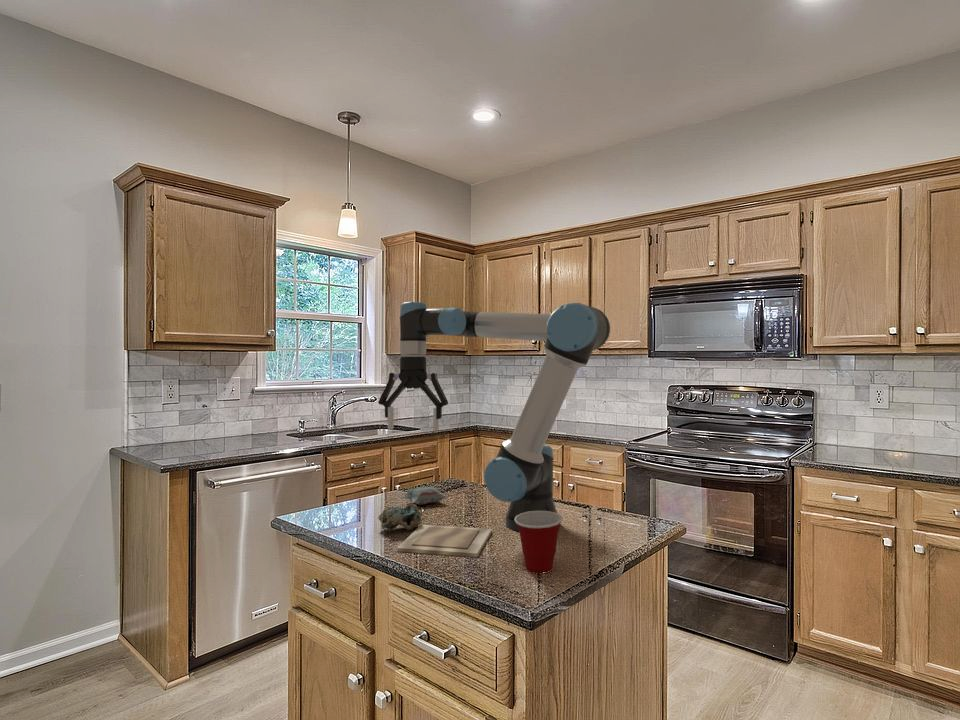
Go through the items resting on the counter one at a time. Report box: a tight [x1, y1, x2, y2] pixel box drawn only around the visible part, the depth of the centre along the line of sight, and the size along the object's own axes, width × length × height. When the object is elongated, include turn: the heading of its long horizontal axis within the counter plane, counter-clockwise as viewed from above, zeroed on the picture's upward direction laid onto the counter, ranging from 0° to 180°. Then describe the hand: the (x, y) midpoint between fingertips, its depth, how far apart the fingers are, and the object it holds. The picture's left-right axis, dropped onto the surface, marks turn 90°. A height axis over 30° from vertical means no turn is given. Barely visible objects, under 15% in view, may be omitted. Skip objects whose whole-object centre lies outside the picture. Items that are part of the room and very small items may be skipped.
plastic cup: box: [514, 511, 563, 574], centre depth 129 cm, size 11×11×12 cm
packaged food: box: [404, 486, 448, 505], centre depth 187 cm, size 9×12×5 cm
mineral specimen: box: [377, 503, 423, 531], centre depth 159 cm, size 12×9×8 cm
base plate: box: [396, 524, 493, 558], centre depth 149 cm, size 20×20×1 cm
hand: (413, 429), depth 166 cm, fingers open, 13 cm apart
